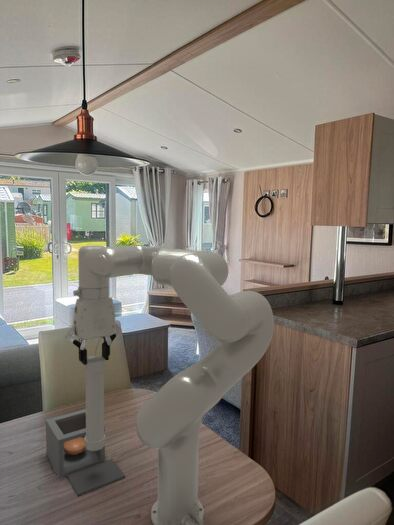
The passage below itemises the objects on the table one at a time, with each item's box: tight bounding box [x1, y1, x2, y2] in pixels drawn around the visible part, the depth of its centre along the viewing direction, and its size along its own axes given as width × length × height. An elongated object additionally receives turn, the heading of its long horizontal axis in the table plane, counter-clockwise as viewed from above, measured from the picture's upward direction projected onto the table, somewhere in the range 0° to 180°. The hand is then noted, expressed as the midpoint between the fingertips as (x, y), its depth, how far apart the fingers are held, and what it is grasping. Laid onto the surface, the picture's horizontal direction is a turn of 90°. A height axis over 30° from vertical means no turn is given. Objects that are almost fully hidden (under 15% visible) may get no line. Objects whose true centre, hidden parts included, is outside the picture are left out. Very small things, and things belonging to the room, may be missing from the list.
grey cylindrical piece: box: [83, 337, 107, 451], centre depth 102 cm, size 6×6×30 cm
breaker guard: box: [45, 408, 106, 480], centre depth 112 cm, size 13×13×11 cm
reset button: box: [64, 437, 86, 455], centre depth 112 cm, size 6×6×3 cm
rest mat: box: [66, 458, 126, 497], centre depth 105 cm, size 9×13×1 cm
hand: (94, 360), depth 101 cm, fingers closed on grey cylindrical piece, 5 cm apart
